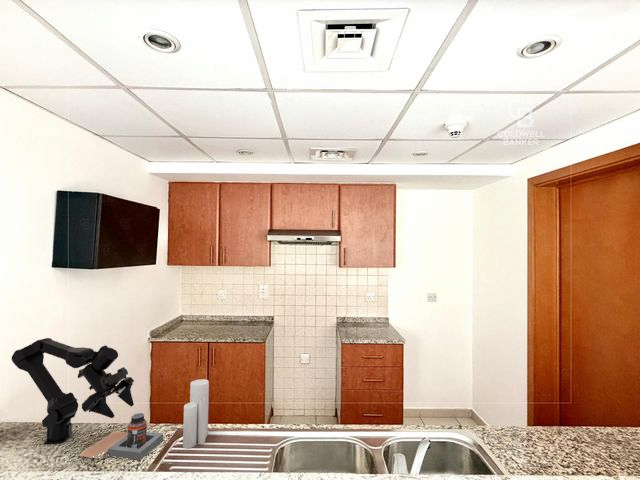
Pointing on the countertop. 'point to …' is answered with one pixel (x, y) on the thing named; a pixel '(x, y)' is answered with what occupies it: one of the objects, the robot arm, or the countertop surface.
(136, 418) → the supplement bottle
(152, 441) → the filter housing collar
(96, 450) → the terracotta mat
